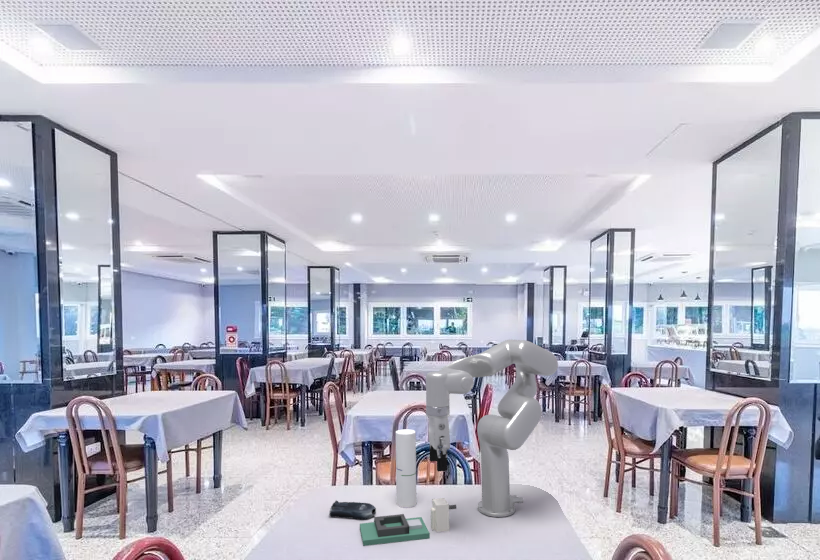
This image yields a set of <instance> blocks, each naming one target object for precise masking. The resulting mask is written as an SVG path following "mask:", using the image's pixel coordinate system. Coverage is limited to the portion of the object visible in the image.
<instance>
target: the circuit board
mask: <svg viewBox="0 0 820 560" xmlns="http://www.w3.org/2000/svg"><path fill="white" fill-rule="evenodd" d="M373 518H374V521H373V522H372V521H371V522H362V523H359V531H360V536H361V541H362V546H363V547H367V546H374V545H382V544H383V545H385V544H394V543H399V542H400V543H401V542H409V541H417V540H427V539H430V538H431V536H430V535H431V533H430V531H429V529H428V526H427V525H426V523H425V522H424V519H423V517H422V516H419V517H418V516H417V517H409V518H406V516H405V514H404V513H402V514H392V515H391V514H390V515H382V516H381V515H380V516H373Z"/></svg>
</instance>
